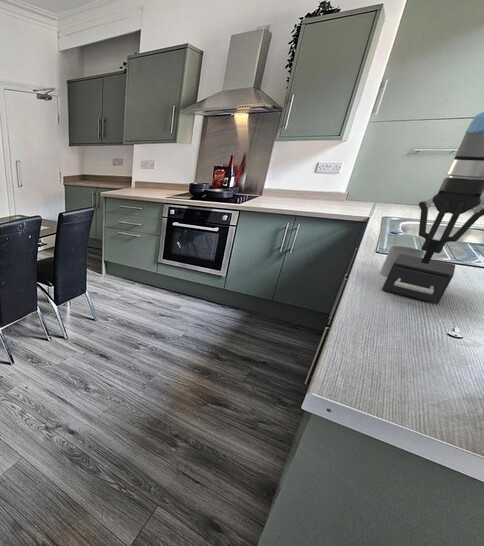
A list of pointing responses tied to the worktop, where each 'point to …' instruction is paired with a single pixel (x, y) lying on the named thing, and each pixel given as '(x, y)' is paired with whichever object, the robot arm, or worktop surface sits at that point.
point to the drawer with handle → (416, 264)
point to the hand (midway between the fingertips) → (424, 262)
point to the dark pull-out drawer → (416, 283)
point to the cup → (394, 254)
